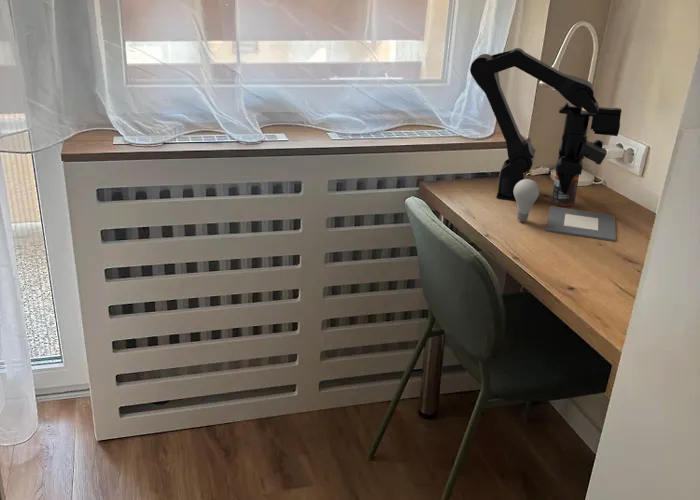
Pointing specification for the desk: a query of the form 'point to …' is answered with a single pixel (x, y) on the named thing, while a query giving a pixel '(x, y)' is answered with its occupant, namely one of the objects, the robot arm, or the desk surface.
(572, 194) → the supplement bottle
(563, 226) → the card
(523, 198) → the lightbulb
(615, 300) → the desk surface
